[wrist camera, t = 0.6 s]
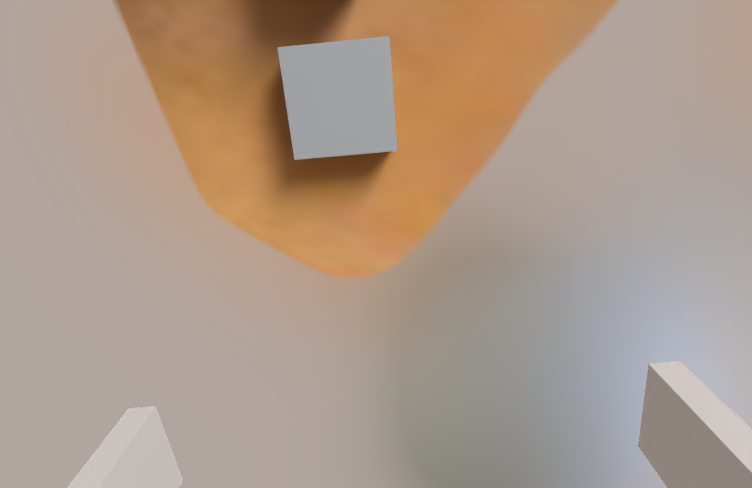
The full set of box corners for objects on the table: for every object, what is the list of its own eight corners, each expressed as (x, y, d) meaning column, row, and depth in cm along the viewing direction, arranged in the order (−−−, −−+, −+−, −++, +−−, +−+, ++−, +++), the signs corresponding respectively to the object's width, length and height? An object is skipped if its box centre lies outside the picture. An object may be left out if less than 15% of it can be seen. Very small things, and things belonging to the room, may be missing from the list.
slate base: (290, 52, 31) (277, 47, 27) (388, 42, 30) (389, 36, 27) (304, 151, 33) (294, 159, 29) (395, 143, 33) (397, 150, 29)
